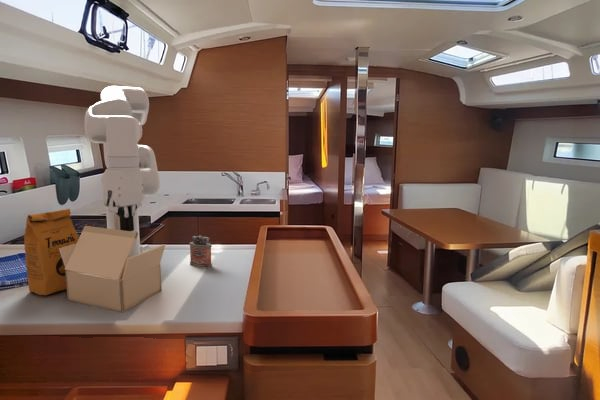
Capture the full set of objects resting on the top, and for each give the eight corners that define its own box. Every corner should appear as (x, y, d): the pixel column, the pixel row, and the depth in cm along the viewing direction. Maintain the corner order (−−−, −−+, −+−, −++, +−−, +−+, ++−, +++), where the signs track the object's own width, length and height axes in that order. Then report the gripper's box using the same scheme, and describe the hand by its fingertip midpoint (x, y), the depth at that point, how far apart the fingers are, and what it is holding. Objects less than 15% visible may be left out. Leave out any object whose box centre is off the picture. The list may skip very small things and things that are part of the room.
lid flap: (86, 226, 101) (84, 225, 101) (138, 233, 96) (136, 232, 95) (66, 270, 96) (64, 269, 96) (119, 279, 91) (117, 278, 90)
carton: (104, 280, 112) (101, 235, 109) (168, 292, 104) (166, 243, 102) (61, 299, 99) (56, 248, 96) (130, 313, 91) (127, 259, 89)
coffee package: (90, 285, 108) (84, 209, 104) (42, 300, 98) (33, 217, 94) (72, 278, 113) (66, 205, 110) (24, 291, 103) (16, 212, 99)
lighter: (187, 265, 126) (186, 236, 125) (194, 262, 129) (193, 233, 128) (208, 268, 123) (207, 238, 122) (214, 265, 126) (213, 236, 125)
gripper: (132, 161, 109) (136, 224, 112) (88, 164, 95) (93, 235, 98) (154, 162, 106) (157, 226, 109) (112, 165, 92) (116, 238, 95)
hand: (127, 230), depth 103 cm, fingers closed
